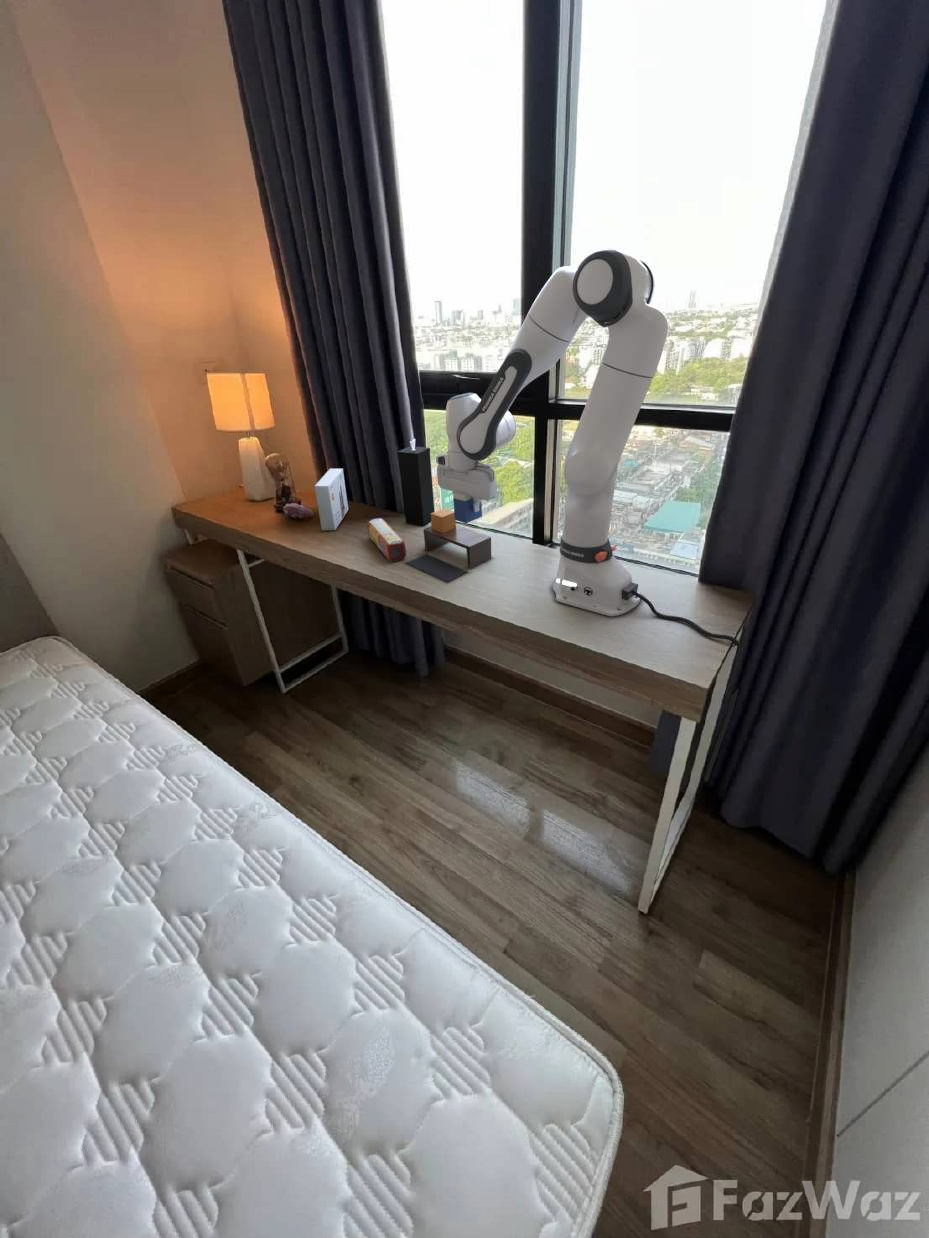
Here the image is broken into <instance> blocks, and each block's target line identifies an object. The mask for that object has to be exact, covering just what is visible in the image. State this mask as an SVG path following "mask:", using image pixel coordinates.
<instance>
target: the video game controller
mask: <svg viewBox="0 0 929 1238" xmlns="http://www.w3.org/2000/svg"><path fill="white" fill-rule="evenodd" d="M282 512H283V513H284V514H286V515H288V516H290V517H291V518H293V519H296V518H297V517H298V518H299V519H304V518H305V516H306V517H308V518H313V516H314V512H313V510H311V509H309V508H308V507H306V506H305V505H303V504H300V503H299V504H298V503H296V502H295V503H293V502H292V503H286V504H285V505H284V506H283V508H282Z"/></svg>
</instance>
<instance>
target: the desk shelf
mask: <svg viewBox="0 0 929 1238" xmlns="http://www.w3.org/2000/svg"><path fill="white" fill-rule="evenodd" d="M422 531H423V540H424V550H425V551H427V552H429V551H432V550H433V549H435V548H439V547H441V546H443V545H445V544H448V543H450V544H452V545H453V544H454V545H456V546H458V547H461V548H463V549H465V550H466V565H467V569H469V570H471V569H473V568H475V567H477V566H479V565H481V564H483V563H486V562H487V561H490V560H491V559H492V537H491V536H490V535H487V534H484V533H482V532H478V531H476V530H472V529H469V528H467V527H464V526H461V525H459V524H456V528H454V529H452V530H449V531H447V532H444V533H441V532H439V531H436V530H433V529H432V525H431V526H427V527H426V528H423V530H422Z"/></svg>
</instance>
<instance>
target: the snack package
mask: <svg viewBox="0 0 929 1238" xmlns="http://www.w3.org/2000/svg"><path fill="white" fill-rule="evenodd" d="M366 530H367V536H368V538H369V539H371V540H372V542H373V543H374V544H375V545H376V547H378V549H379V550H380V551H381V553H382V554H383V555H384V556H385V557H386V559H387V560H388V561H390V562H391V563H392V562H397V561H399V560H403V559H405V557H406V556H407V547H406V546H407V545H406V541H405V540H403V538H402V537H400V535H398V533H397V532H396V531H395V530H394V528H392V527H391V526H390V525H389V524H388V523H387V522H386V520H385V519H383V518H373V519H371V520H370V521H368V522H367V525H366Z"/></svg>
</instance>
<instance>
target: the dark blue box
mask: <svg viewBox="0 0 929 1238" xmlns="http://www.w3.org/2000/svg"><path fill="white" fill-rule="evenodd" d="M452 499H453V501H452V502H453V512H454V515H455V520H456V522H460V523H464V524H468V523H471V522H473V521H475V520H478V519H481V518H482V517H483V505H482V502H481V503H480V505H479V511H478V512H473V511H472V508H471V505H474V502H475V501H474V500H473V497H471V496H469V495H468V494H466V493H462V492H458V491H456V492H453V491H452Z"/></svg>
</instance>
